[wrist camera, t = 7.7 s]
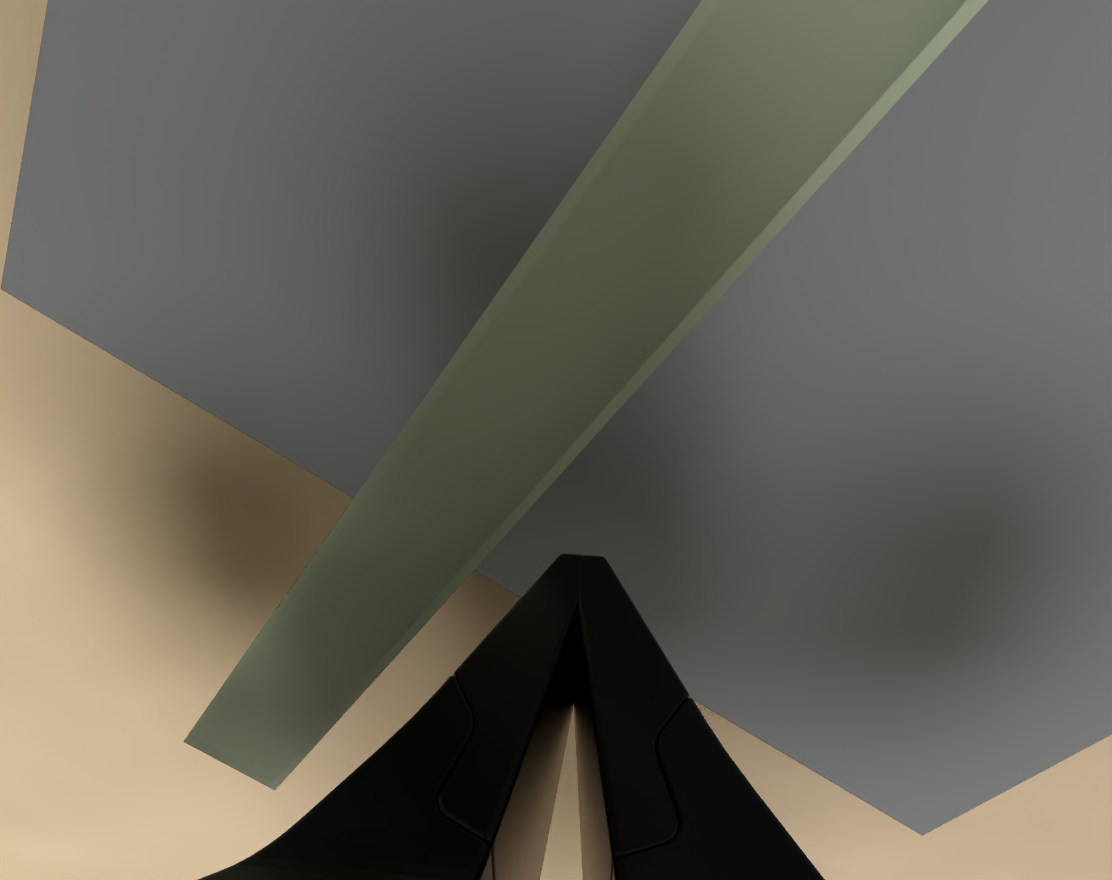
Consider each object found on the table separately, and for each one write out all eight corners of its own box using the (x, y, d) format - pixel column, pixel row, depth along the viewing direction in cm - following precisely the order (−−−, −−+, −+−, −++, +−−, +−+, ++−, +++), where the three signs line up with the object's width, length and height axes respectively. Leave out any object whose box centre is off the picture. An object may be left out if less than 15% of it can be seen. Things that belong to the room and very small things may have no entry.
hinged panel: (745, -15, 6) (933, -330, 3) (825, 66, 7) (1093, -115, 3) (330, 560, 11) (182, 742, 7) (387, 596, 11) (275, 789, 7)
